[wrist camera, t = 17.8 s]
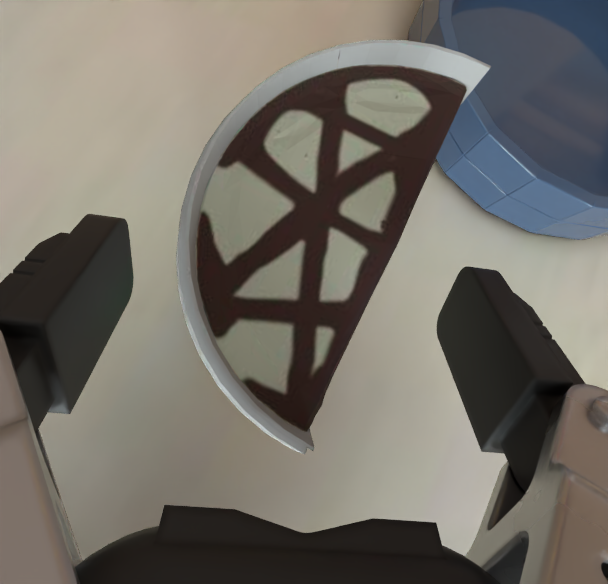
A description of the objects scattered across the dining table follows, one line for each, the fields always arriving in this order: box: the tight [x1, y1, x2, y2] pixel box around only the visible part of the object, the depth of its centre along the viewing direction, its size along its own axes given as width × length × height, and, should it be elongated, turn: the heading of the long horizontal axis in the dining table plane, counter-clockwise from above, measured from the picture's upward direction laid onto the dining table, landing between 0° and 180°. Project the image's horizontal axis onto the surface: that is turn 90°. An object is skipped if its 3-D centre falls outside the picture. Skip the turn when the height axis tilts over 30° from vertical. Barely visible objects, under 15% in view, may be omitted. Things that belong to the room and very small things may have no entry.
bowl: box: [408, 0, 608, 240], centre depth 21 cm, size 18×18×4 cm
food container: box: [176, 40, 491, 454], centre depth 15 cm, size 12×6×10 cm, turn 154°
